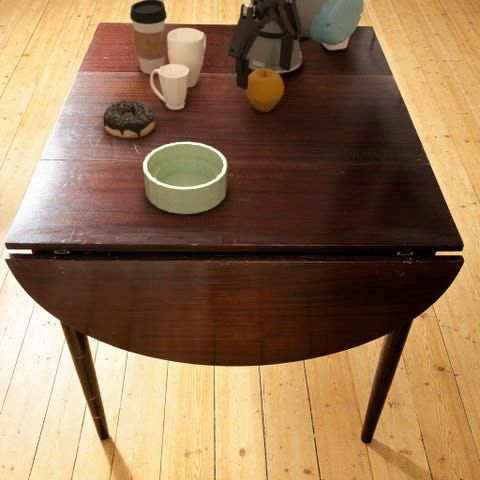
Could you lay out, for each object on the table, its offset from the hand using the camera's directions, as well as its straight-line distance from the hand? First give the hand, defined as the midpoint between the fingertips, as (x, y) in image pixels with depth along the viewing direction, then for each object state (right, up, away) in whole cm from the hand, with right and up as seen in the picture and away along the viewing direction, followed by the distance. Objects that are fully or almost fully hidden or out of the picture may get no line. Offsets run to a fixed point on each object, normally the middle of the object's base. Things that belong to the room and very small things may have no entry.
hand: (263, 77), depth 134 cm
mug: (-17, +5, +14) cm, 22 cm away
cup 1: (-21, -4, +6) cm, 22 cm away
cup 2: (+20, +20, +29) cm, 40 cm away
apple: (0, -5, +6) cm, 8 cm away
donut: (-29, -11, -1) cm, 31 cm away
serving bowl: (-15, -28, -17) cm, 36 cm away
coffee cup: (-27, +9, +18) cm, 33 cm away
